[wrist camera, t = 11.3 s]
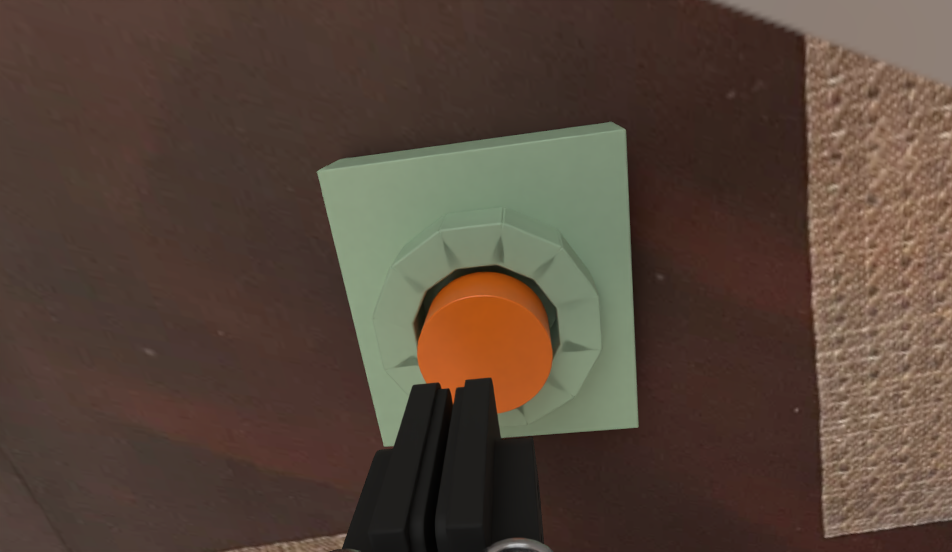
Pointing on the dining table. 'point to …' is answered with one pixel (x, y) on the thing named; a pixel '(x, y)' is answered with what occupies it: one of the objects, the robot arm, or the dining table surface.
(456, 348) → the button
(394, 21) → the dining table surface
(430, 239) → the block
